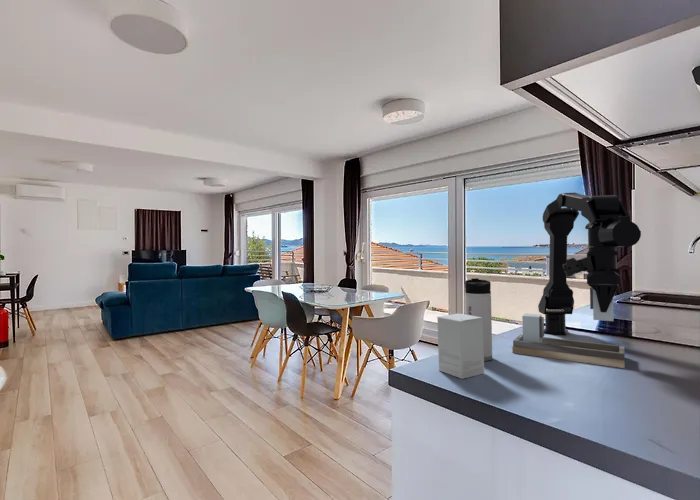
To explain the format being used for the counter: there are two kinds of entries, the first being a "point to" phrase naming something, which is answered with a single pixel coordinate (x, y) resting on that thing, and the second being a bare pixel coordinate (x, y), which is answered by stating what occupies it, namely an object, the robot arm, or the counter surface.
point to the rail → (572, 351)
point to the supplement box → (461, 345)
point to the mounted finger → (533, 328)
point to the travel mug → (480, 309)
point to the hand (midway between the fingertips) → (603, 310)
